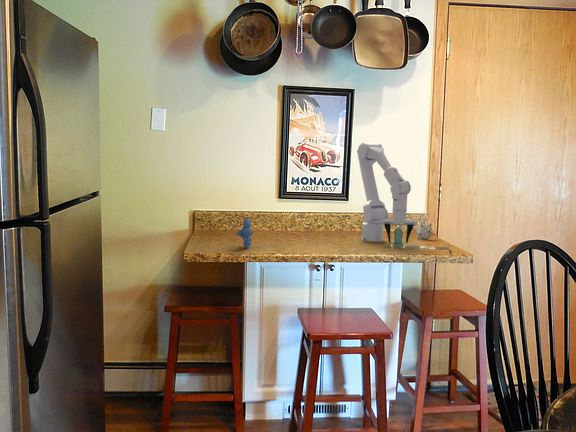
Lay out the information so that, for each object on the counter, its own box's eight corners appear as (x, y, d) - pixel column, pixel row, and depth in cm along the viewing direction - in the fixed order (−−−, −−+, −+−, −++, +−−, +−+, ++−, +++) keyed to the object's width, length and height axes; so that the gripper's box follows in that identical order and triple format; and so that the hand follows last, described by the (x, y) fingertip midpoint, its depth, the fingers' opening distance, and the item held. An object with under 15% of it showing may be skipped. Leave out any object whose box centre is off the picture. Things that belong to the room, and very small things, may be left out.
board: (390, 250, 218) (390, 247, 218) (390, 245, 228) (390, 243, 228) (451, 253, 214) (451, 250, 214) (448, 248, 224) (448, 246, 224)
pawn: (392, 246, 221) (393, 228, 220) (392, 244, 225) (393, 226, 224) (403, 247, 220) (404, 229, 219) (403, 245, 224) (404, 227, 223)
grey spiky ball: (423, 249, 242) (416, 233, 236) (414, 239, 249) (408, 224, 243) (440, 239, 241) (434, 223, 236) (431, 230, 249) (425, 214, 243)
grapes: (236, 244, 224) (236, 216, 223) (252, 244, 225) (252, 216, 223) (236, 250, 213) (236, 220, 211) (253, 250, 213) (253, 220, 212)
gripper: (381, 210, 218) (380, 242, 220) (417, 211, 215) (416, 244, 217) (381, 208, 225) (380, 240, 227) (417, 209, 222) (415, 241, 224)
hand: (398, 242), depth 222 cm, fingers open, 6 cm apart
